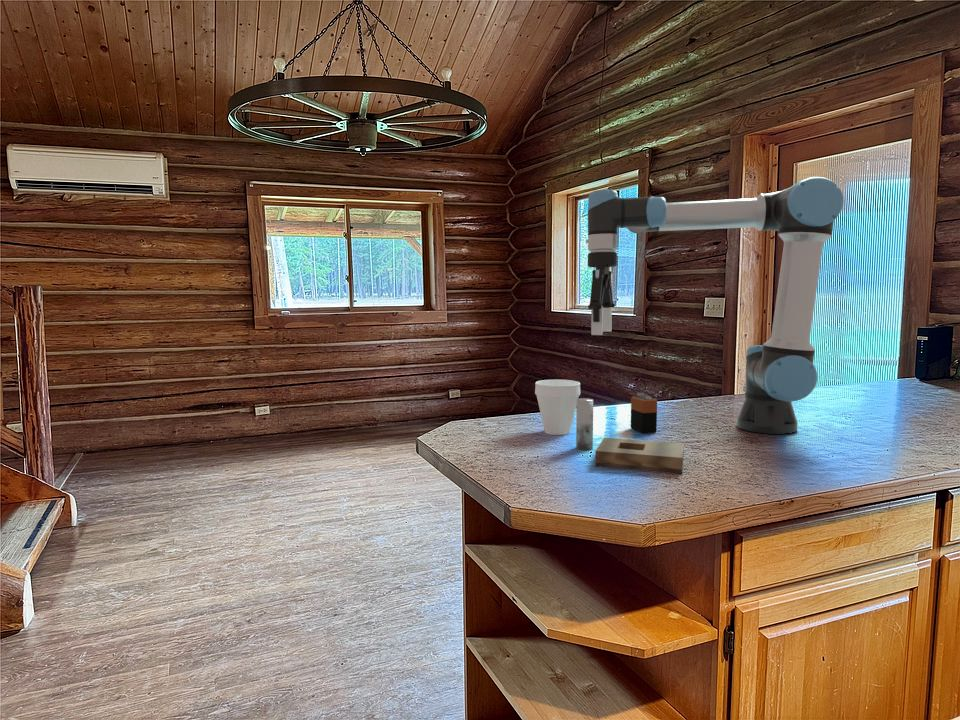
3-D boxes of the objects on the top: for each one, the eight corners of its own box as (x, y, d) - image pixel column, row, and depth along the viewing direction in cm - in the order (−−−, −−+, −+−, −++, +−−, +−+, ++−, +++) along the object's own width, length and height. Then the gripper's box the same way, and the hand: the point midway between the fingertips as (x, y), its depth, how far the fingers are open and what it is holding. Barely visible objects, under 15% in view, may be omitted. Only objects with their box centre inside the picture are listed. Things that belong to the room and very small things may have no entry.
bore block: (683, 458, 139) (683, 443, 139) (682, 474, 127) (682, 457, 126) (603, 451, 145) (604, 437, 145) (595, 466, 133) (595, 450, 132)
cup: (553, 425, 174) (554, 378, 173) (589, 432, 166) (589, 382, 164) (525, 432, 166) (525, 382, 164) (561, 439, 157) (561, 387, 156)
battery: (643, 427, 171) (644, 392, 170) (657, 432, 164) (658, 396, 163) (629, 428, 170) (630, 393, 168) (643, 434, 163) (643, 397, 162)
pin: (593, 446, 150) (594, 398, 148) (591, 450, 146) (591, 401, 145) (577, 445, 151) (578, 398, 150) (574, 449, 147) (575, 400, 146)
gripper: (597, 254, 171) (596, 330, 174) (577, 249, 148) (577, 336, 151) (624, 253, 169) (623, 330, 171) (608, 248, 145) (607, 336, 148)
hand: (601, 333), depth 161 cm, fingers open, 13 cm apart
